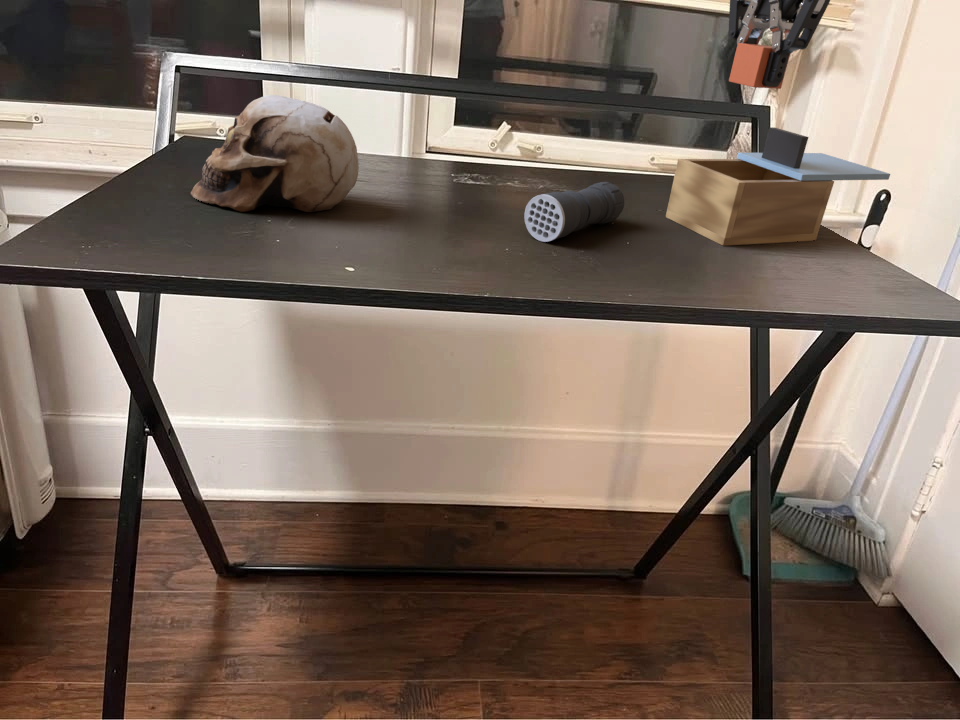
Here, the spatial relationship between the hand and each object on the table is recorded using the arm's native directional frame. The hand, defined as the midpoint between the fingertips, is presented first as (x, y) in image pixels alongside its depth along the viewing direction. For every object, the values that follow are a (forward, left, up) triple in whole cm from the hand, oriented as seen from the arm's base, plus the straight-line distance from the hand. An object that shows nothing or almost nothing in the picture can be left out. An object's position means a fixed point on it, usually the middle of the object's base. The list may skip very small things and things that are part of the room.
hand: (755, 82), depth 91 cm
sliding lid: (+1, -14, -11) cm, 18 cm away
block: (0, 0, 0) cm, 0 cm away
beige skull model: (+18, +55, -19) cm, 61 cm away
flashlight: (+3, +21, -19) cm, 28 cm away
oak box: (+1, -4, -19) cm, 19 cm away
